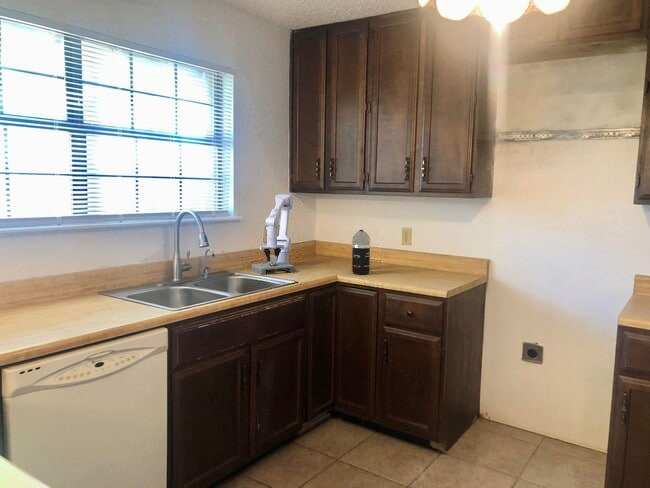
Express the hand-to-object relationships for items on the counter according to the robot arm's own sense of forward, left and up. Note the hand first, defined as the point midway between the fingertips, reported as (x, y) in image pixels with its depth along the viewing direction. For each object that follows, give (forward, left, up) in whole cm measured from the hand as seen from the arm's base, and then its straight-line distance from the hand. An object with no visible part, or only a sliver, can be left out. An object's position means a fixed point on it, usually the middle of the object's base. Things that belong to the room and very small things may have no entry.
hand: (272, 261), depth 304 cm
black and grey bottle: (+29, +42, -6) cm, 52 cm away
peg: (0, 0, -4) cm, 4 cm away
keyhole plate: (+1, 0, -6) cm, 6 cm away
